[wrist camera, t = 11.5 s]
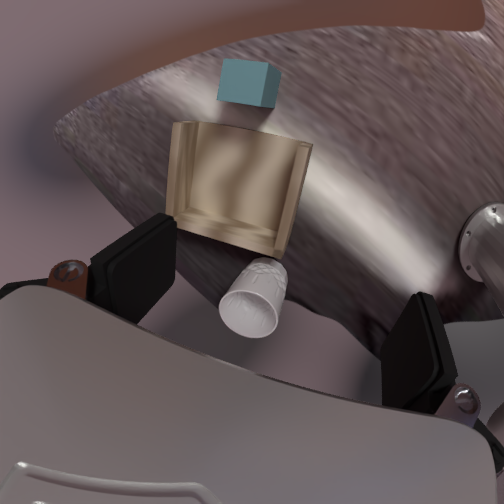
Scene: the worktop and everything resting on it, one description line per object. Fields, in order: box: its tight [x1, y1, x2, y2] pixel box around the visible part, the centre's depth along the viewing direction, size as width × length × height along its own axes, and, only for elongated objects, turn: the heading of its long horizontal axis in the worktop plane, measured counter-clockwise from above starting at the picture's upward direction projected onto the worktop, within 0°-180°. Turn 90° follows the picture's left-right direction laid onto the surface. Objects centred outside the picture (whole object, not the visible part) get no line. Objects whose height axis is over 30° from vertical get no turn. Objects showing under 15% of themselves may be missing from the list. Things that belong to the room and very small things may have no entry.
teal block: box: [217, 59, 281, 108], centre depth 29 cm, size 5×5×7 cm
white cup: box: [219, 257, 288, 338], centre depth 40 cm, size 8×8×10 cm
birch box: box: [166, 121, 313, 259], centre depth 36 cm, size 17×14×6 cm
